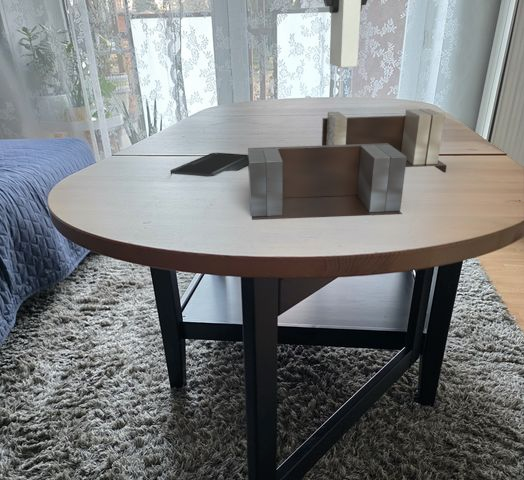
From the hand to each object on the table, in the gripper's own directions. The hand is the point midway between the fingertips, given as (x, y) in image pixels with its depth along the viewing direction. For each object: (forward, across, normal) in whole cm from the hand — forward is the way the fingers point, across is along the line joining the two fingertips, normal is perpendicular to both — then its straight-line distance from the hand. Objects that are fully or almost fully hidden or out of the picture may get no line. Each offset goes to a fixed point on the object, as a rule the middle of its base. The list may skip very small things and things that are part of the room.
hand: (345, 11), depth 54 cm
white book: (+5, 0, 0) cm, 5 cm away
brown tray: (+21, +10, +19) cm, 30 cm away
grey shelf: (+20, -3, -4) cm, 21 cm away
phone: (+20, -16, +21) cm, 34 cm away
